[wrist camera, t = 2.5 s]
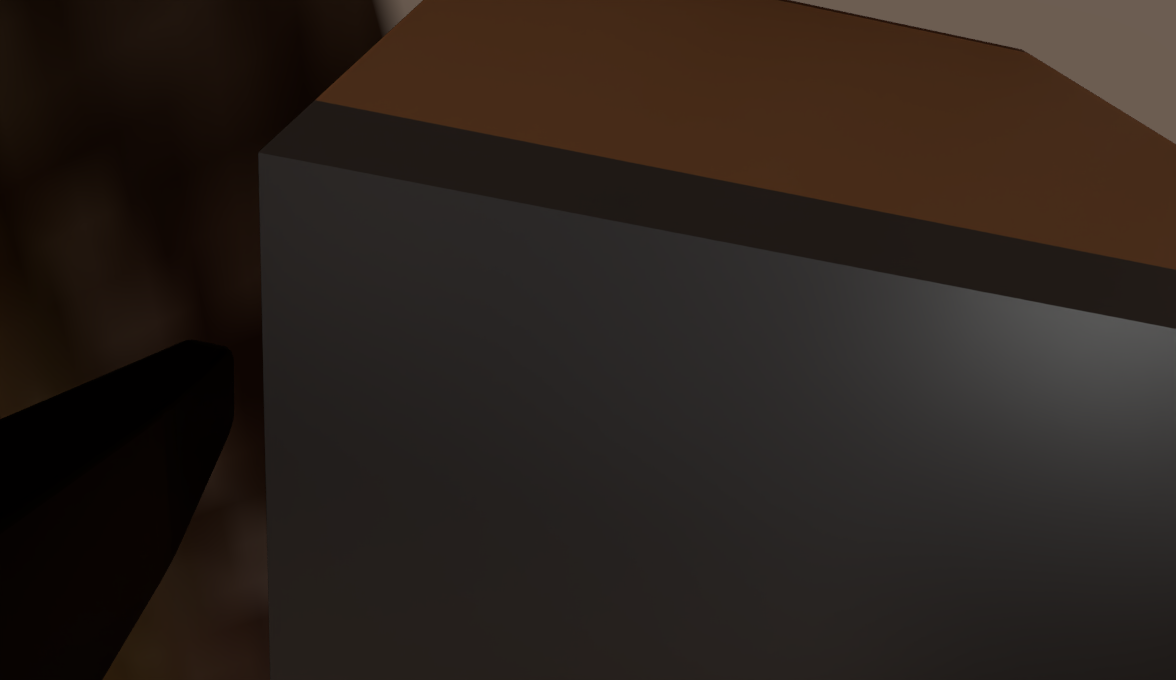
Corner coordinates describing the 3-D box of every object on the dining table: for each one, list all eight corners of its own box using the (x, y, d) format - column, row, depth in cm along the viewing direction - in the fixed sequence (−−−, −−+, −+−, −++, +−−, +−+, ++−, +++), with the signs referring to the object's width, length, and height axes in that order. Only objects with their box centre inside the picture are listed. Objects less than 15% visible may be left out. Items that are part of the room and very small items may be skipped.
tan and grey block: (1022, 49, 8) (1612, 412, 3) (746, 656, 13) (815, 1163, 8) (491, -64, 8) (259, 151, 3) (414, 602, 12) (280, 1097, 8)
